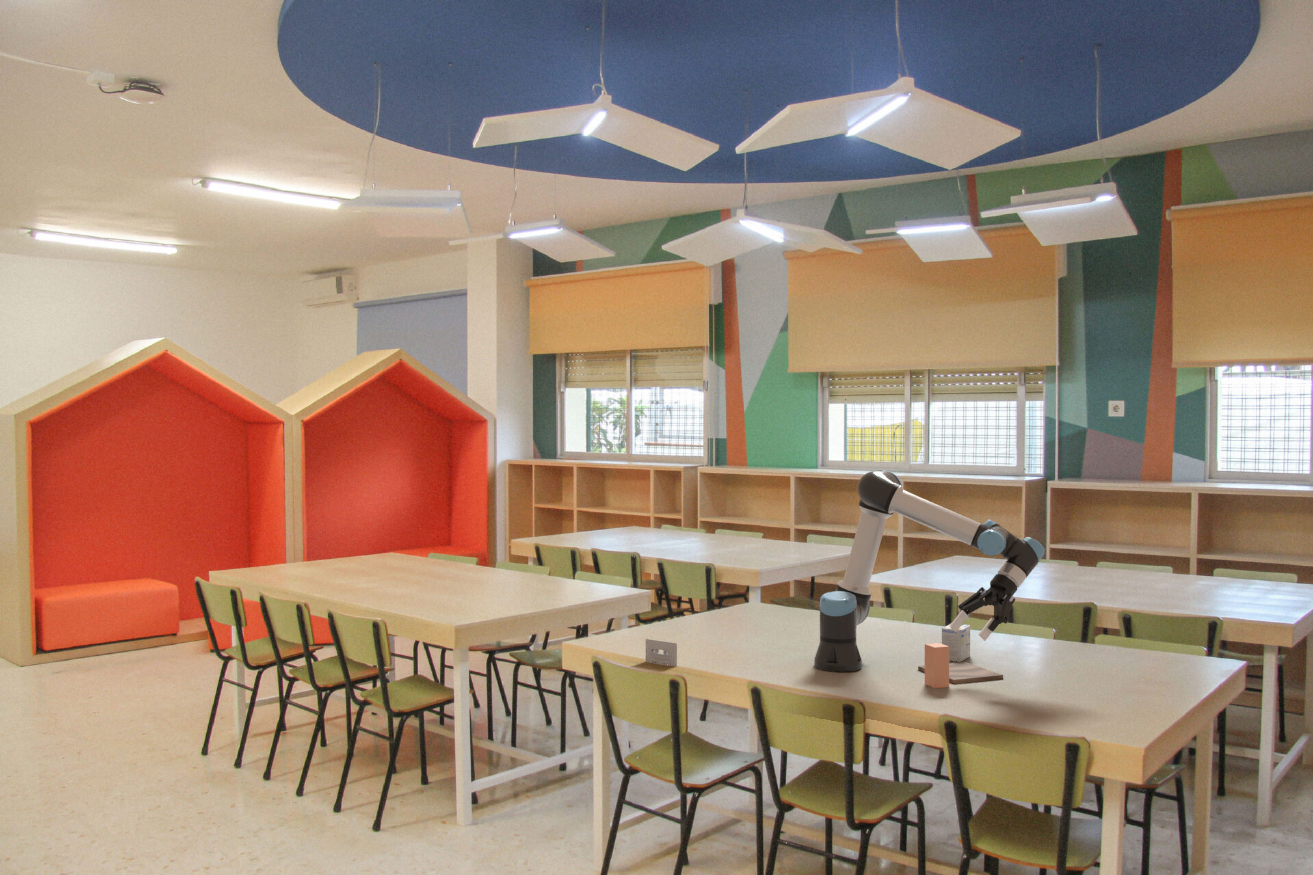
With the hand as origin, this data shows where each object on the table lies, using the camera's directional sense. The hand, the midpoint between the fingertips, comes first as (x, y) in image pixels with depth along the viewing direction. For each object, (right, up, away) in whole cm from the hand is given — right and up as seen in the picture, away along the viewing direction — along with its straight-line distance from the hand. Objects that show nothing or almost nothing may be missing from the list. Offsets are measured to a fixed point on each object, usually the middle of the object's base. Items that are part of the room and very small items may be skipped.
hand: (966, 633), depth 276 cm
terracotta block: (-10, -15, -4) cm, 18 cm away
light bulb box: (+7, -15, +32) cm, 36 cm away
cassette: (-92, -15, +23) cm, 96 cm away
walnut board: (+1, -15, +10) cm, 18 cm away
